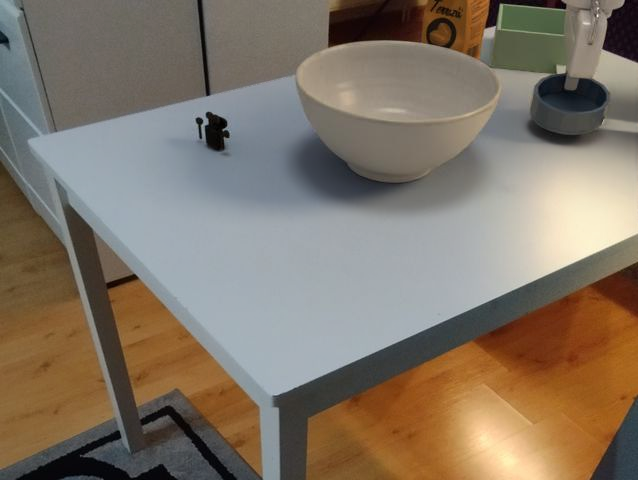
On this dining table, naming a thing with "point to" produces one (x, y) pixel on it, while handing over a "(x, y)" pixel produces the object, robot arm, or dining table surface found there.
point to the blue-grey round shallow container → (569, 105)
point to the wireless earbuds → (214, 130)
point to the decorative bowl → (396, 105)
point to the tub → (529, 39)
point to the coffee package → (456, 25)
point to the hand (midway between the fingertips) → (569, 85)
